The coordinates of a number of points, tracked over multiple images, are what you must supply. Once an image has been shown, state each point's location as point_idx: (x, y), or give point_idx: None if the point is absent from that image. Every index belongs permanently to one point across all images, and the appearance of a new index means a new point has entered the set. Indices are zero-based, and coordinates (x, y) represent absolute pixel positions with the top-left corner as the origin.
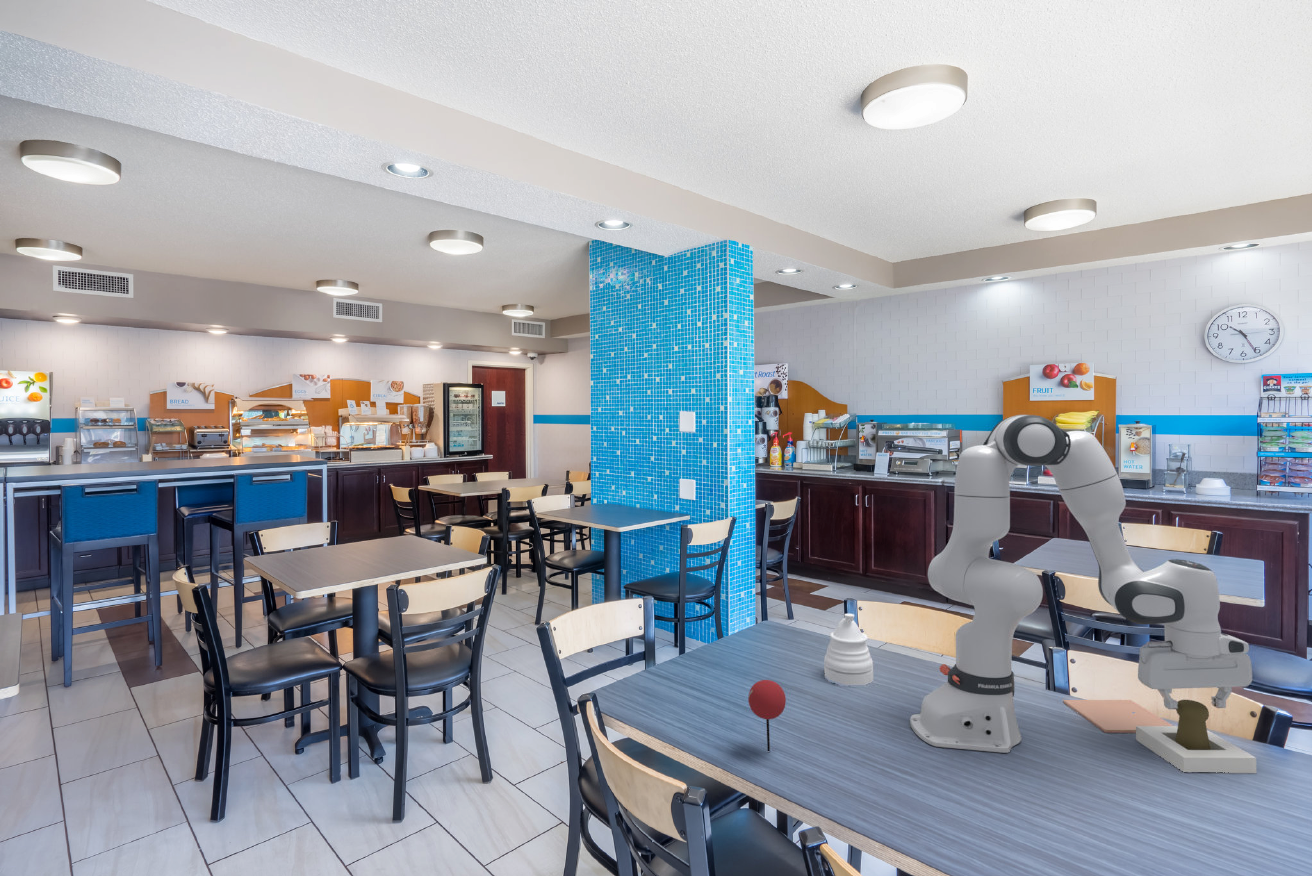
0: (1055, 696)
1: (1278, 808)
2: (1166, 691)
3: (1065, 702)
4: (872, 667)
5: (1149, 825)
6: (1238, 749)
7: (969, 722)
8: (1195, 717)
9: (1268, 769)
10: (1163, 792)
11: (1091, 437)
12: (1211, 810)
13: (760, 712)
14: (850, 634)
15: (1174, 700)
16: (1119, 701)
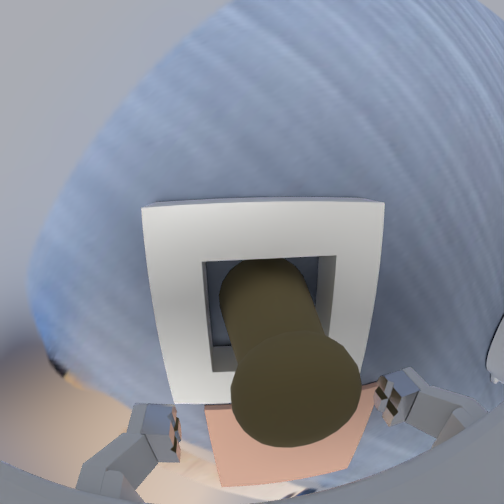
0: (338, 476)
1: (250, 29)
2: (475, 408)
3: (348, 463)
4: None
5: (488, 57)
6: (157, 268)
7: None
8: (326, 338)
9: (106, 230)
10: (447, 122)
11: None
12: (402, 49)
13: None
14: None
15: (402, 404)
16: (247, 482)
